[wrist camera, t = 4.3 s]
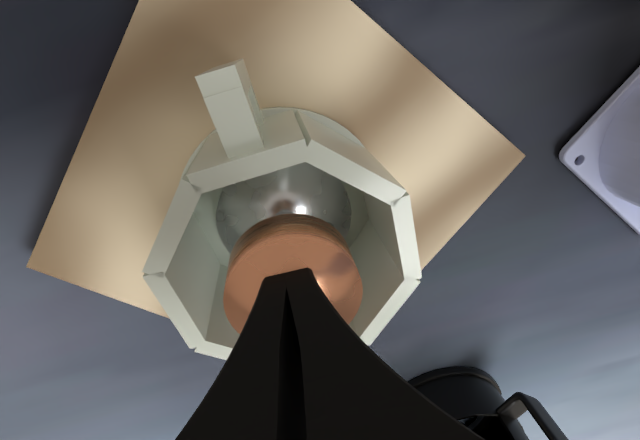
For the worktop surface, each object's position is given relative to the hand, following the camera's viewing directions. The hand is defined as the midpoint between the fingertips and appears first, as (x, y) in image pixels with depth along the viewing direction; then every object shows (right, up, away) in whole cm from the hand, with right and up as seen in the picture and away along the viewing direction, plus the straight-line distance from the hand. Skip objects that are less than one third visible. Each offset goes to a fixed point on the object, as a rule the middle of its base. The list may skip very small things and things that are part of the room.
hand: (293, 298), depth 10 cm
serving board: (-1, +3, +6) cm, 7 cm away
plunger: (-1, +3, +5) cm, 6 cm away
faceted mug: (-1, +3, +5) cm, 6 cm away
